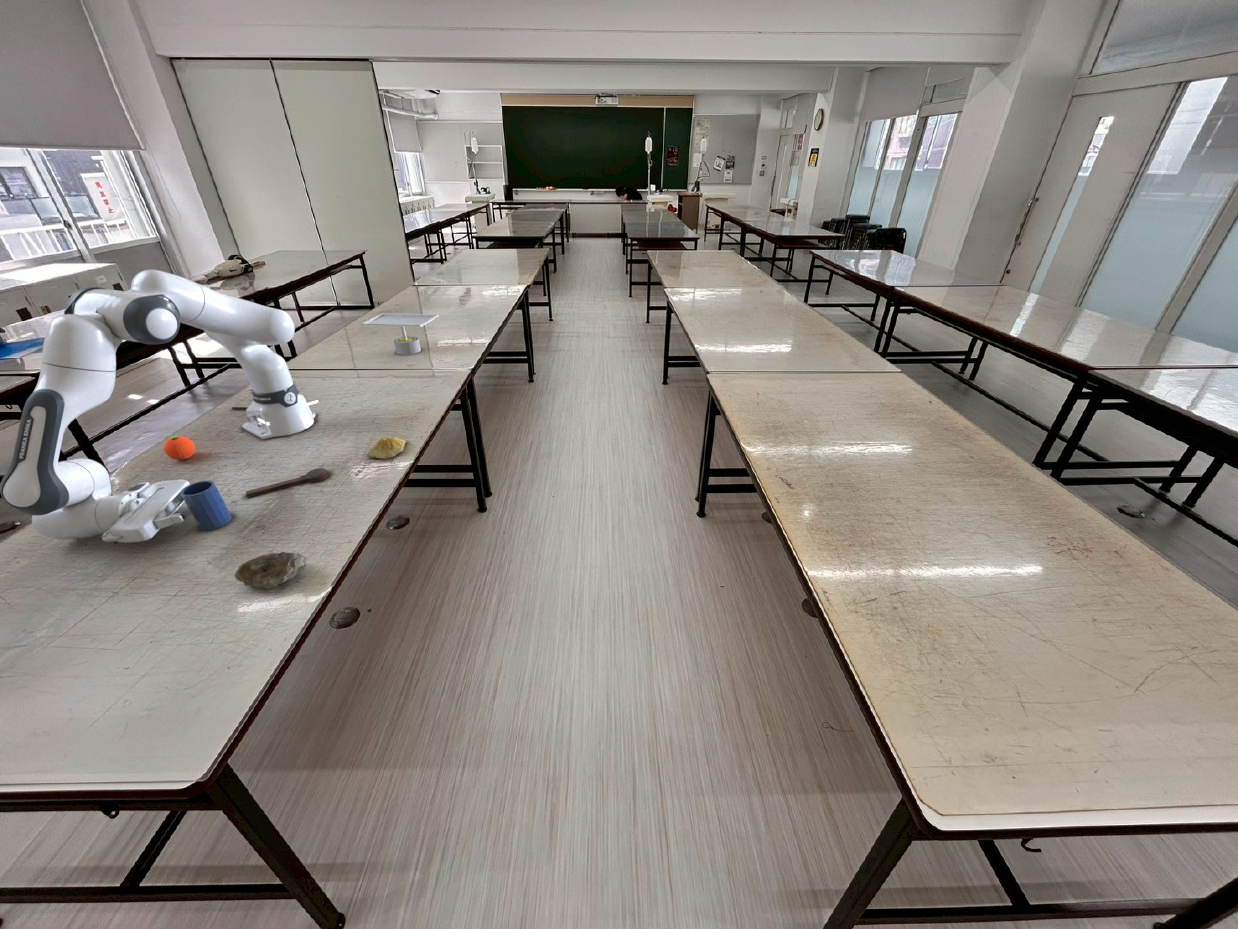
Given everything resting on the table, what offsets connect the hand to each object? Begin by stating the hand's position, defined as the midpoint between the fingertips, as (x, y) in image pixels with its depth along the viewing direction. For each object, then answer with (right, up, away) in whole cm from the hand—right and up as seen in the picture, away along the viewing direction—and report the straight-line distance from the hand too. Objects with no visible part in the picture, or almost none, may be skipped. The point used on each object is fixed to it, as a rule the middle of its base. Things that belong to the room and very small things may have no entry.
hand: (193, 505), depth 117 cm
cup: (+3, -4, +3) cm, 6 cm away
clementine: (-28, +12, +30) cm, 43 cm away
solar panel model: (+4, +62, +110) cm, 126 cm away
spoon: (+12, +4, +17) cm, 21 cm away
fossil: (+32, +14, +32) cm, 47 cm away
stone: (+30, -14, -13) cm, 35 cm away
